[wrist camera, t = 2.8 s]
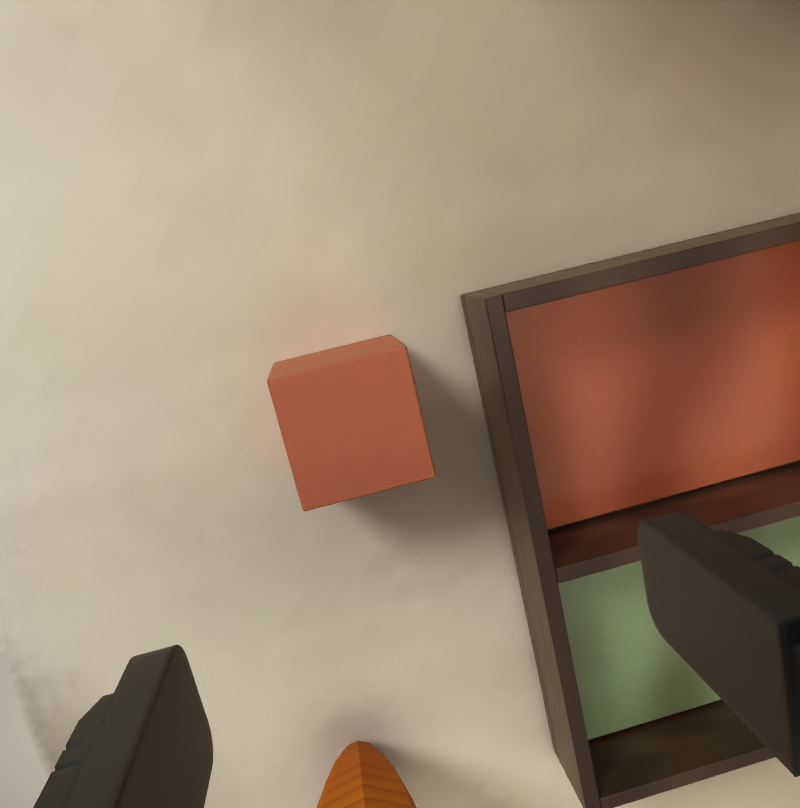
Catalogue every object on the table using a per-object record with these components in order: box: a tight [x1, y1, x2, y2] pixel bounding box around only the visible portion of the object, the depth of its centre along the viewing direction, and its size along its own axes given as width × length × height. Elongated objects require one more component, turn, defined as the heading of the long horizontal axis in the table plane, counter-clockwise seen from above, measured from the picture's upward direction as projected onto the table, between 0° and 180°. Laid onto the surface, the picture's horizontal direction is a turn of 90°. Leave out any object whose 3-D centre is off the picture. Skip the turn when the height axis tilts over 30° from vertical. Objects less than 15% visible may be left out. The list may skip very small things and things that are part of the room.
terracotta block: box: [267, 335, 435, 511], centre depth 23 cm, size 4×4×4 cm
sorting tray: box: [460, 213, 800, 808], centre depth 26 cm, size 14×20×4 cm
